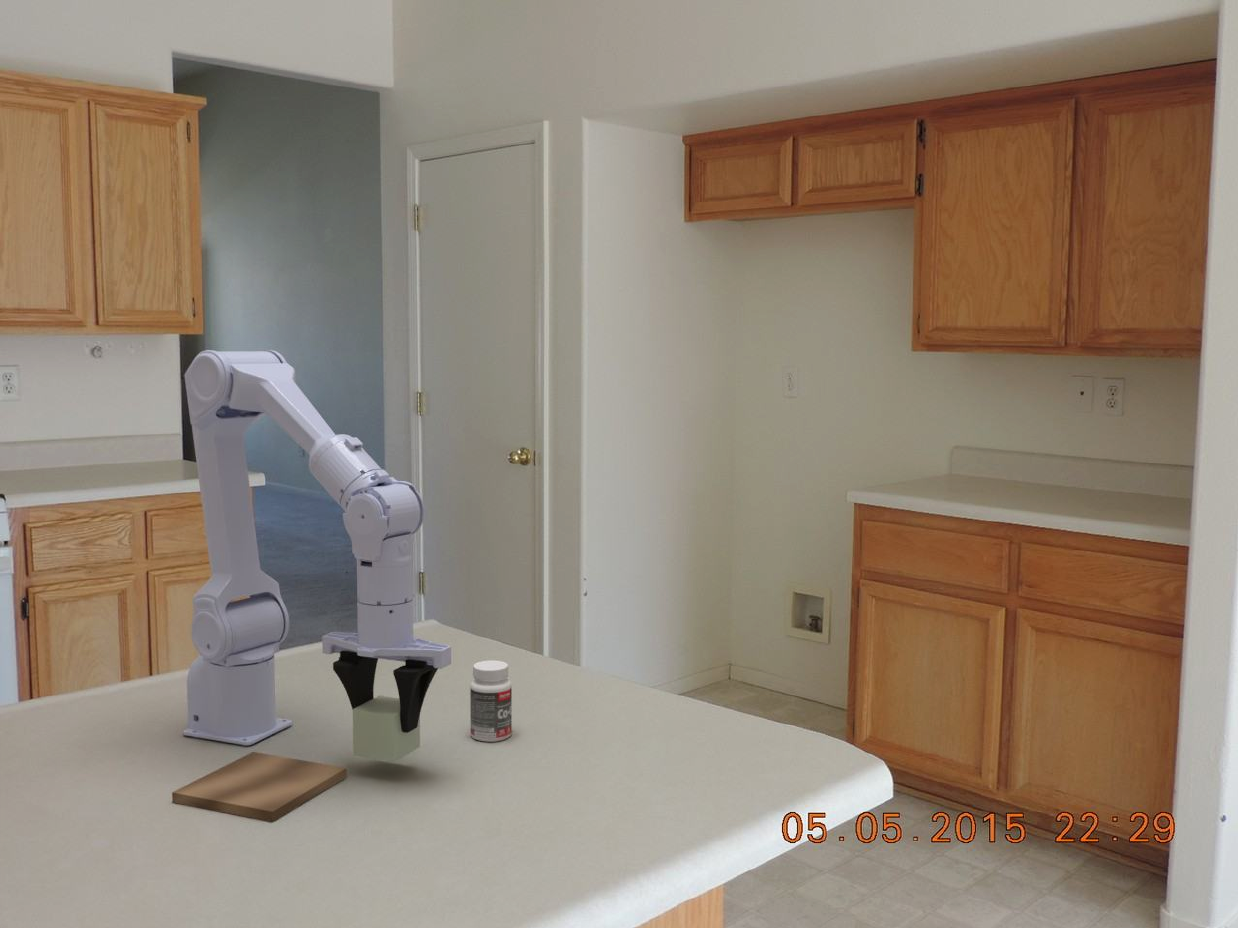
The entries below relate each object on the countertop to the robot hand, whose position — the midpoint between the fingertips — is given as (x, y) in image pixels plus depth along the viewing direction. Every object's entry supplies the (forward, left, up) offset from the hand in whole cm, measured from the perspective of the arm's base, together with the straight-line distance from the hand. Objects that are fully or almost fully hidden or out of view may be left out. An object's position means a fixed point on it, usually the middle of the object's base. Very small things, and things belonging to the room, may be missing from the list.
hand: (386, 725), depth 119 cm
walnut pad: (-9, -9, -5) cm, 14 cm away
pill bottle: (+5, +14, -5) cm, 16 cm away
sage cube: (0, 0, -3) cm, 3 cm away
